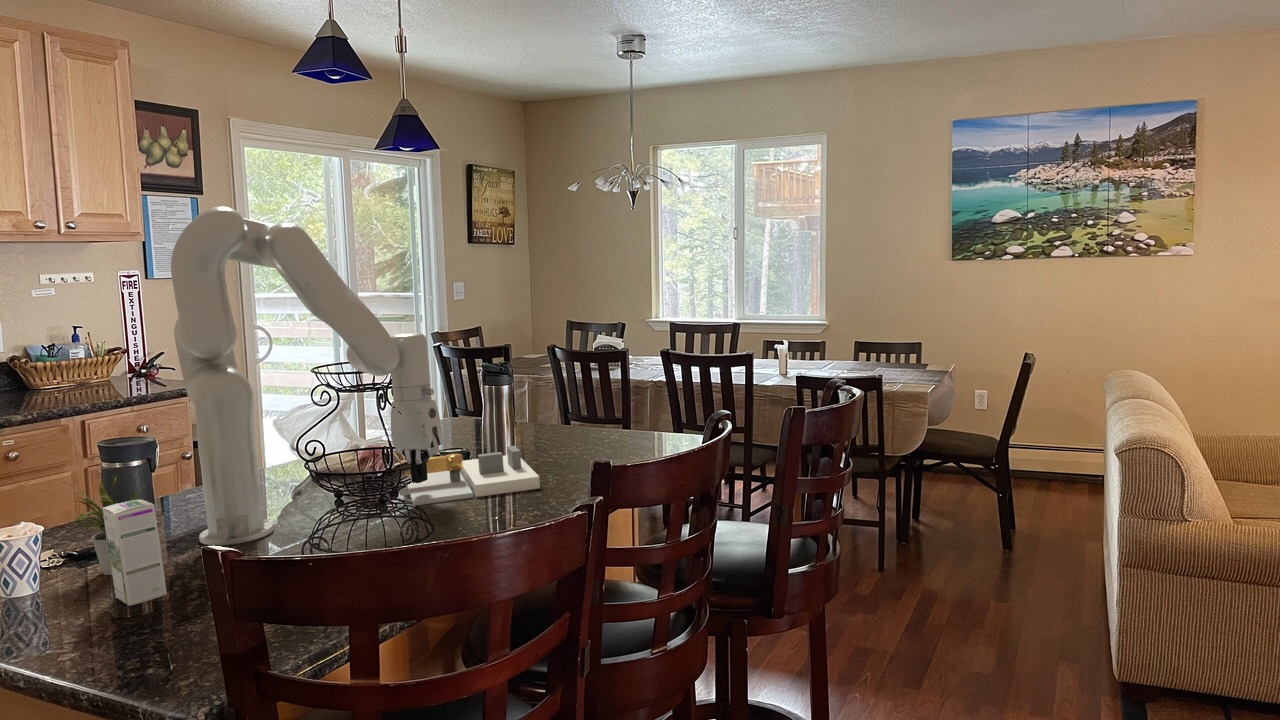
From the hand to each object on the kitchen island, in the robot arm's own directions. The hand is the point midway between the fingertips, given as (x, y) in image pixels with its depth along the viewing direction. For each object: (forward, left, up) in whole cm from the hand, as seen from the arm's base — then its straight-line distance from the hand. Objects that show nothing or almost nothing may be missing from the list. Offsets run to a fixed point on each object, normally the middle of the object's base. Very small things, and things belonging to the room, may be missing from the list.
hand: (419, 481), depth 182 cm
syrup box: (-36, +45, -4) cm, 58 cm away
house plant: (-19, +52, -4) cm, 55 cm away
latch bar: (+7, -3, 0) cm, 8 cm away
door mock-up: (+7, -11, -4) cm, 14 cm away
